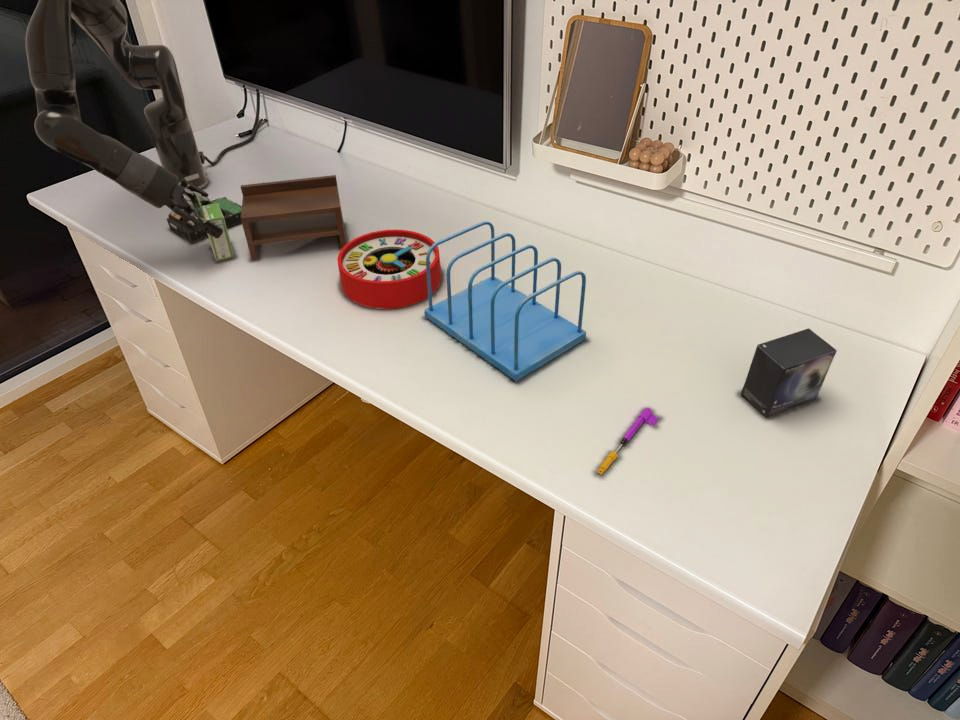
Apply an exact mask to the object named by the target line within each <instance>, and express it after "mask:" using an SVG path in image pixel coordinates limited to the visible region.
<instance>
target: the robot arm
mask: <svg viewBox="0 0 960 720" xmlns="http://www.w3.org/2000/svg"><path fill="white" fill-rule="evenodd" d="M72 19H73V20H74V22H75V23H76V24H77V25H78V26H79V27H80V28H81V29H82V30H83V31H84V32H85V33H86V34H87V35H88V36H89V37H90V38H91V39H92V41H94V42H95V44H96V45H97V46H98V48H100V50H101V51H103V53H104V54H105V55H106V57H108V60H109V61H110V62H111V63H112V65H113V66H114V68H115V69H116V71H117V72H118V73H119V74H120V76H121V77H122V79H123V80H124V81H125V82H126V84H128V85H129V86H130V87H131V88H133V89H136V90H139V91H140V90H141V91H152V90H157V91H158V90H160V91H161V95H162V96H161V97H160V98H159V99H157V100H156V99H155V100H154V101H151V102H150V103H148V104H147V105H146V106H145V107H144V108H143V115H144V118H145V121H146V123H147V125H148V126H147V127H148V130H149V132H150V135H151V138H152V141H153V144H154V147H155V150H156V153H157V156H158V160H159V163H160V164H158V163H157V162H156V161H153V160H152V159H150V158H149V157H147V156H145V155H143V154H141V153H139V152H137V151H135V150H133V149H132V148H130V147H129V146H126V145H125V144H123V143H122V142H120V141H118V140H117V139H116V138H113V137H111V136H109V135H106V134H102V133H99V132H98V131H96V130H95V129H93V128H92V127H90V126H89V125H87V124H85V123H83V121H82V117H81V110H80V105H79V101H78V96H77V91H76V72H75V71H76V70H75V63H74V54H73V45H72V44H73V43H72ZM128 25H129V17H128V13H127V10H126V8H125V6H124V4H123V3H122V2H121V0H38V2H37V4H36V7H35V9H34V10H33V13H32V15H31V17H30V19H29V22H28V24H27V27H26V31H25V40H24V41H25V52H26V59H27V65H28V66H27V67H28V74H29V79H30V82H31V85H32V87H33V88H34V92H35V93H34V94H35V101H36V102H35V103H36V110H37V116H36V118H35V120H34V130H35V131H34V132H35V134H36V135H37V137H38V138H39V140H40V141H41V142H42V143H43V144H44V145H46V146H48V147H50V149H52V150H54V151H55V152H57V153H60V154H62V155H63V156H65V157H68V158H70V159H72V160H74V161H76V162H79V163H81V164H82V165H83V164H84V165H86V166H88V167H89V168H91V169H93V170H95V172H97V173H99V174H100V175H102V176H104V177H106V178H107V179H109V180H111V181H113V182H114V183H116V184H117V185H119V186H120V187H121V188H123V189H124V190H126V191H127V192H129V193H131V195H134V196H136V197H138V198H139V199H141V200H143V201H144V202H146V203H148V204H149V205H151V206H152V207H155V208H157V209H161V208H162V207H164V206H166V207H167V208H168V209H170V212H169V214H168V215H167V218H170V219H171V220H173V221H175V222H177V223H178V224H180V225H182V226H183V227H185V228H187V229H188V230H190V231H192V232H194V233H197V231H199V230H203V231H204V232H206V233H208V234H210V235H211V236H213V237H215V238H219V237H220V236H221V235H222V233H223V229H221V228H220V227H218V226H216V225H215V224H213V223H211V222H209V221H208V220H206V219H205V218H204V217H203V216H202V215H201V214H200V210H199V209H200V208H199V204H198V201H197V198H196V195H195V192H196V194H197V197H198V199H199V201H200V203H201V206H204V205H209V204H214V203H212V202H210V201H212V200H211V199H210V198H209V193H208V192H207V191H205V190H204V189H203V188H205V187H206V186H207V185H208V183H209V182H208V178H207V176H206V173H205V169H204V166H203V165H204V164H205V162H207V163H208V164H210V165H212V166H216V165H217V164H219V162H220V161H221V159H222V157H223V155H224V154H225V153H226V152H228V151H230V150H233V149H235V148H237V147H241V146H243V145H245V144H247V143H249V142H251V141H252V140H253V139H254V138H255V135H256V131H257V130H258V128H259V127H260V126H261V124H262V122H268V121H269V120H268V119H267V118H266V117H264V118H265V119H264V120H263V119H262V118H260V119H259V120H258V122H257V123H258V124H257V123H256V125H255V127H253V130H252V134H251V136H250V137H248V138H247V139H246V140H243V141H241V142H238V143H235V144H231V145H230V146H228V147H226V148H224V149H222V150H221V151H220V152H219V155H218V156H217V159H216V160H215V161H211V160H210V159H209V158H208V156H206V155H204V152H203V151H199V148H198V145H197V142H196V138H195V135H194V131H193V128H192V125H191V122H190V118H189V115H188V112H187V107H186V102H185V97H184V92H183V89H182V84H181V80H180V76H179V72H178V68H177V67H178V66H177V63H176V61H175V58H174V55H173V53H172V51H171V50H170V48H168V47H167V46H166V45H164V44H145V45H143V44H142V45H140V44H139V45H135V44H134V45H133V44H130V43H129V42H128V41H127V40H126V36H127V32H128ZM198 208H199V209H198ZM220 210H221V212H222V214H223V216H225V214H226V211H225V210H223V209H222V208H220ZM196 217H197V218H198V219H199V220H198V219H197V218H196ZM188 223H191V224H192V225H193V226H191V225H190V224H188Z"/></svg>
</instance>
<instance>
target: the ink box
mask: <svg viewBox="0 0 960 720" xmlns="http://www.w3.org/2000/svg"><path fill="white" fill-rule="evenodd" d="M195 195H196V198H197V201H198V204H199V208H200V211H201V214H202V216H203V217H204V218H205V219H206V220H208V221H209V222H211V223H213V224H215V225H216V226H218V227H220V228H221V229H223V233H222V235H221V236H220V237H219V238H215V237H213V236H211V235H210V234H208V233H207V234H208V236H207V237H208V240H209V244H210V248H211V250H212V253H213V256H214V258H215V262H221V261H225V260H231V259H234V258H235V254H234V253H235V252H234V250H233V246H232V242H231V238H230V235H229V231H228V228H227V227H226V223H225V220H224V216H223V214H222V212H221V210H220V207H219V205H218V203H214V204H209V205H204V206H201V203H200V201H199V199H198V197H197V194H196V192H195Z"/></svg>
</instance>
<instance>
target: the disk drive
mask: <svg viewBox="0 0 960 720" xmlns="http://www.w3.org/2000/svg"><path fill="white" fill-rule="evenodd" d="M210 202H212V203H218V205H219V207H220V208H222V209H223V210H225V211H226V214H225V216H224V220H225V223H226V227H227V229H228V228H231V227H233V226H235V225H238V224H240V223H242V222H241V210H242V205H241V204H239V203H238V202H234V201H232V200H231V199H229V198H227V196H223V197H219V198H215V199H213V200H211V201H210ZM198 209H199V208H198ZM199 210H200V209H199ZM200 214H201V211H200ZM201 215H202V214H201ZM196 218H197V217H196ZM197 219H198V218H197ZM198 220H199V219H198ZM166 222H167V225H168V227H169V228H170V229H171V230H172V231H174V233H177V234H178V235H179V236H181V237H182V238H184V239H185V240H187V241H188V242H190V243H193V242H194V243H195V242H197V241H200V240H203V239H204V238H207V237H208V234H207V233H206V232H204V231H203V230H199V231H197V233H194V232H192V231H190V230H188V229H187V228H185V227H183V226H182V225H180V224H178V223H177V222H175V221H173V220H171V219H170V218H169V217H167V218H166ZM188 224H190V225H191V226H193V225H192V224H191V223H188Z"/></svg>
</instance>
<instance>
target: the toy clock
mask: <svg viewBox="0 0 960 720" xmlns="http://www.w3.org/2000/svg"><path fill="white" fill-rule="evenodd" d="M435 242H436V241H434V239H432V238H430V237H428V236H427V235H425V234H423V233H420V232H417V231H414V230H407V229H383V230H376V231H372V232H368V233H365V234H361V235H360V236H356V237H355V238H353V239H352V240H350V241H349V242H346V245H345V246H344V247H343V248H342V249H341V248H340V250H339V252H338V255H337V257H336V258H337V260H336V261H337V266H338V267H337V268H338V272H339V279H340V284H341V290H342V291H343V294H344V295H345V297H347V299H349V300H350V301H352V302H354V303H355V304H357V305H360V306H362V307H366V308H371V309H380V310H394V309H401V308H405V307H409V306H413V305H416V304H418V303H420V302H422V301H425V300H426V299H428V286H427V270H426V255H427V252H428V250H429V248H430V247H431V246H432V245H433V244H434V243H435ZM440 257H441V256H440V249H439V245H438V246H436V247H435V248H434V249H433V251H432V252H431V254H430V277H431V291H432V295H433V294H434V293H435V292H436V291H437V290H438V288H439V286H440V284H441V282H442V271H441V258H440Z"/></svg>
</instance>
